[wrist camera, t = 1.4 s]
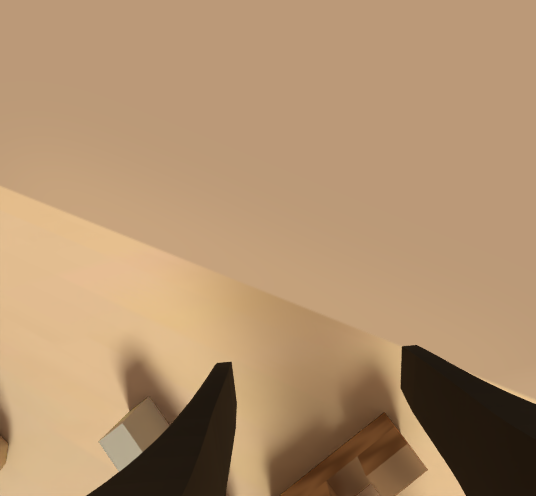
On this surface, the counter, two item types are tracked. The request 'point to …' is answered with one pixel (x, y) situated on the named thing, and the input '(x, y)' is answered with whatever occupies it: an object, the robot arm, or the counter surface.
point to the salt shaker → (3, 452)
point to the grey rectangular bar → (134, 433)
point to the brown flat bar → (364, 465)
